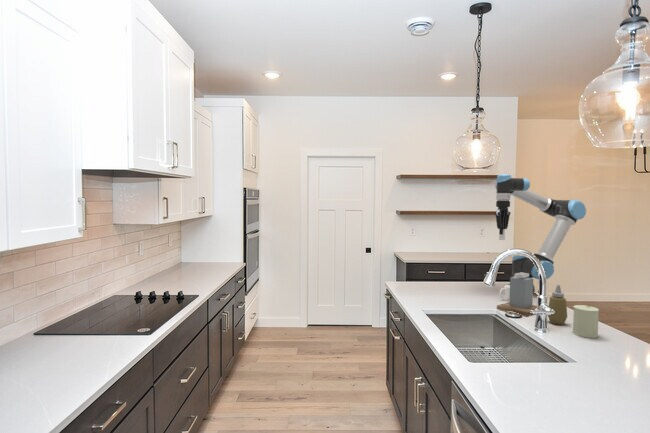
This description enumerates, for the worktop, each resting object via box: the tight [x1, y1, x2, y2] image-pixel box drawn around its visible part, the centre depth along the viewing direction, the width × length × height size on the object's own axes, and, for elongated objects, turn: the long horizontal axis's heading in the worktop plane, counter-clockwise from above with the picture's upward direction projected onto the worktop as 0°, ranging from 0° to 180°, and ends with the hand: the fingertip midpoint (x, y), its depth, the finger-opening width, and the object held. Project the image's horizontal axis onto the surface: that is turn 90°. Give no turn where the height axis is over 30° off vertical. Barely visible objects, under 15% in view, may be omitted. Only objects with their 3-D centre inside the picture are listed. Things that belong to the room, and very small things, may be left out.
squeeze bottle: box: [547, 284, 568, 326], centre depth 179 cm, size 8×8×18 cm
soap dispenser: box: [508, 276, 534, 309], centre depth 201 cm, size 8×8×15 cm
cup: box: [499, 284, 510, 302], centre depth 221 cm, size 7×10×8 cm
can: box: [572, 304, 600, 339], centre depth 165 cm, size 9×9×12 cm
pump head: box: [514, 272, 529, 279], centre depth 199 cm, size 10×4×10 cm, turn 125°
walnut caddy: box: [496, 301, 538, 317], centre depth 201 cm, size 18×16×2 cm
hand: (502, 239), depth 228 cm, fingers closed
